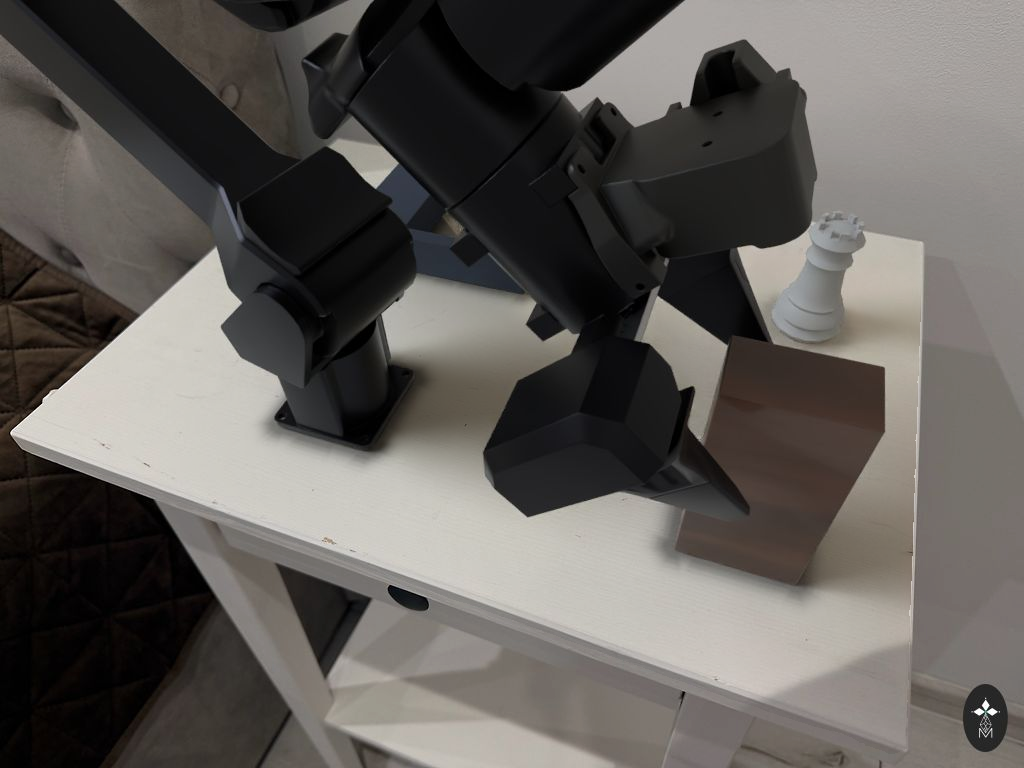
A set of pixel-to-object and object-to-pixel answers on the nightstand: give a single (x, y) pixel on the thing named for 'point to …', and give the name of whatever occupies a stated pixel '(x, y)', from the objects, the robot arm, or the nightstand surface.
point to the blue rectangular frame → (437, 236)
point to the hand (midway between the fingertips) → (754, 428)
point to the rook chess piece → (820, 281)
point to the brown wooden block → (785, 453)
